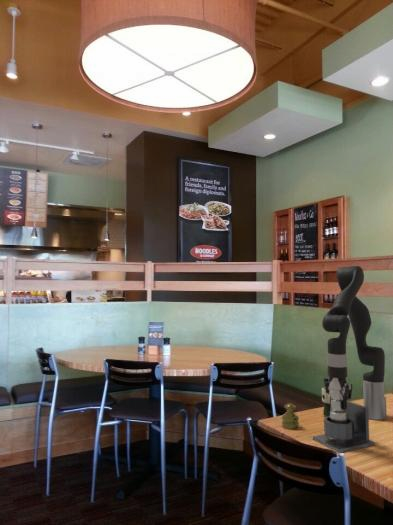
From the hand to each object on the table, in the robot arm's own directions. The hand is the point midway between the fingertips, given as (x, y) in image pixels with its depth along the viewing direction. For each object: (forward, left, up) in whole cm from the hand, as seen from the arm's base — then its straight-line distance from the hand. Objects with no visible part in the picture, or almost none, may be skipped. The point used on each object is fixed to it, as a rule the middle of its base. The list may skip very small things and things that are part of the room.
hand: (338, 407), depth 166 cm
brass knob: (+6, -24, -14) cm, 29 cm away
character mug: (-20, -28, -14) cm, 37 cm away
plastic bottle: (0, 0, -7) cm, 7 cm away
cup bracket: (-2, 0, -14) cm, 14 cm away
